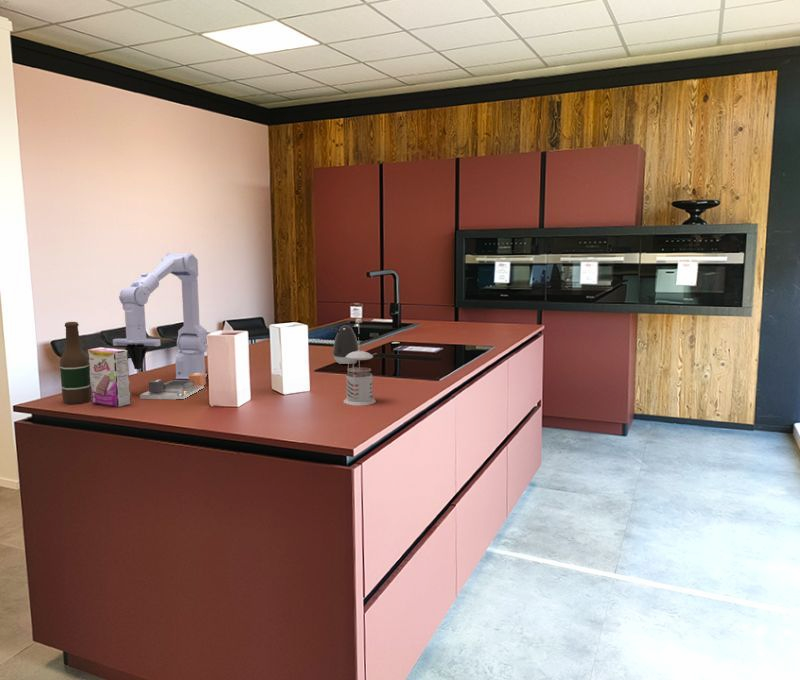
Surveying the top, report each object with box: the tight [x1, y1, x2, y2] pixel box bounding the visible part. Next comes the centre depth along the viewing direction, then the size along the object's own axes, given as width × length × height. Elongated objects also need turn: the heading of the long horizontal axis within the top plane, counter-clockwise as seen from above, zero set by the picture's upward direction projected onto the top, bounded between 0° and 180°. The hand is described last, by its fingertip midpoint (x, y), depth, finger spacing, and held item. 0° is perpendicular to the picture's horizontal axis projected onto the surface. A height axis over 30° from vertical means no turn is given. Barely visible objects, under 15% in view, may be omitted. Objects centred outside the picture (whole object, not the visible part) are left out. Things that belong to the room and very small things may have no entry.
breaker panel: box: [139, 379, 205, 400], centre depth 206 cm, size 14×15×3 cm
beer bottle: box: [59, 321, 92, 405], centre depth 194 cm, size 8×8×24 cm
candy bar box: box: [87, 346, 132, 408], centre depth 192 cm, size 11×5×16 cm, turn 65°
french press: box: [343, 318, 377, 406], centre depth 194 cm, size 10×12×25 cm
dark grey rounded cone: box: [331, 325, 359, 365], centre depth 256 cm, size 10×10×15 cm
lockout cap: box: [188, 372, 207, 386], centre depth 217 cm, size 4×4×4 cm
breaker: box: [147, 379, 164, 392], centre depth 203 cm, size 3×4×3 cm
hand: (138, 368), depth 203 cm, fingers closed
